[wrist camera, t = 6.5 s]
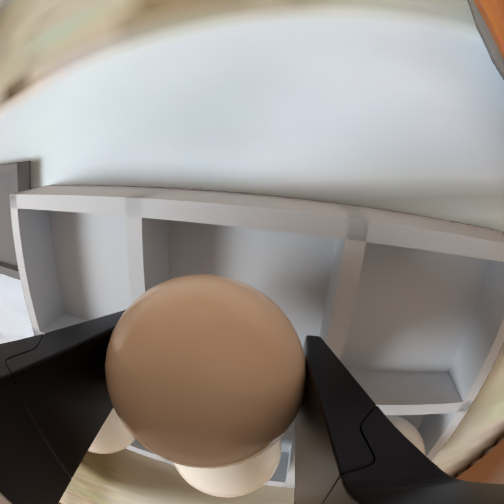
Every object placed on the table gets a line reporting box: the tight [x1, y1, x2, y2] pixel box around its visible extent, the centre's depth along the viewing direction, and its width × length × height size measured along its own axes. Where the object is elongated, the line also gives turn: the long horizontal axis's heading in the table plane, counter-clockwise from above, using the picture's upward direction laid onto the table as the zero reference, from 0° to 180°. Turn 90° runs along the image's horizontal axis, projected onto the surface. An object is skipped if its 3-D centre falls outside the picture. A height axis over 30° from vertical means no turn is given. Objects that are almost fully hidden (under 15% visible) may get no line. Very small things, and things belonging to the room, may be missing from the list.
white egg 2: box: [174, 439, 282, 497], centre depth 11 cm, size 5×5×5 cm
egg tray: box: [9, 185, 504, 488], centre depth 12 cm, size 14×20×3 cm
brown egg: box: [105, 274, 306, 469], centre depth 7 cm, size 5×5×5 cm
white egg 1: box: [88, 408, 135, 454], centre depth 12 cm, size 5×5×5 cm
